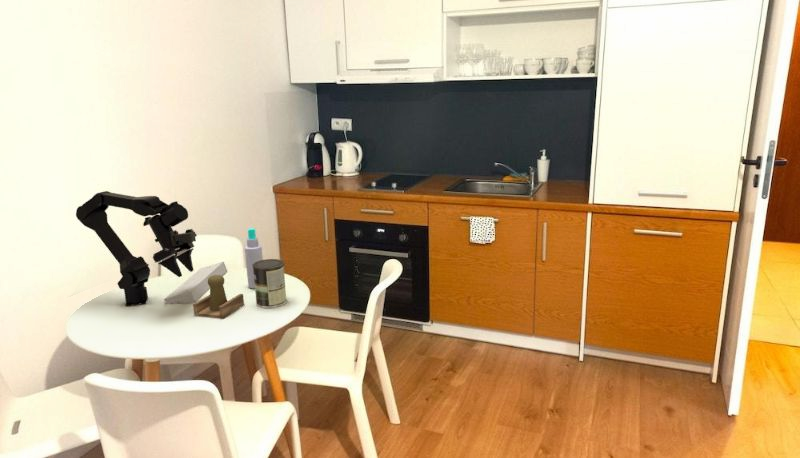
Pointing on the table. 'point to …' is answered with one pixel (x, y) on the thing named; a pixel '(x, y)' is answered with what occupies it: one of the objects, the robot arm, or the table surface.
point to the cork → (216, 292)
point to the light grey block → (196, 285)
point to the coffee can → (269, 283)
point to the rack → (224, 310)
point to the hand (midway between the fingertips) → (186, 273)
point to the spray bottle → (252, 255)
